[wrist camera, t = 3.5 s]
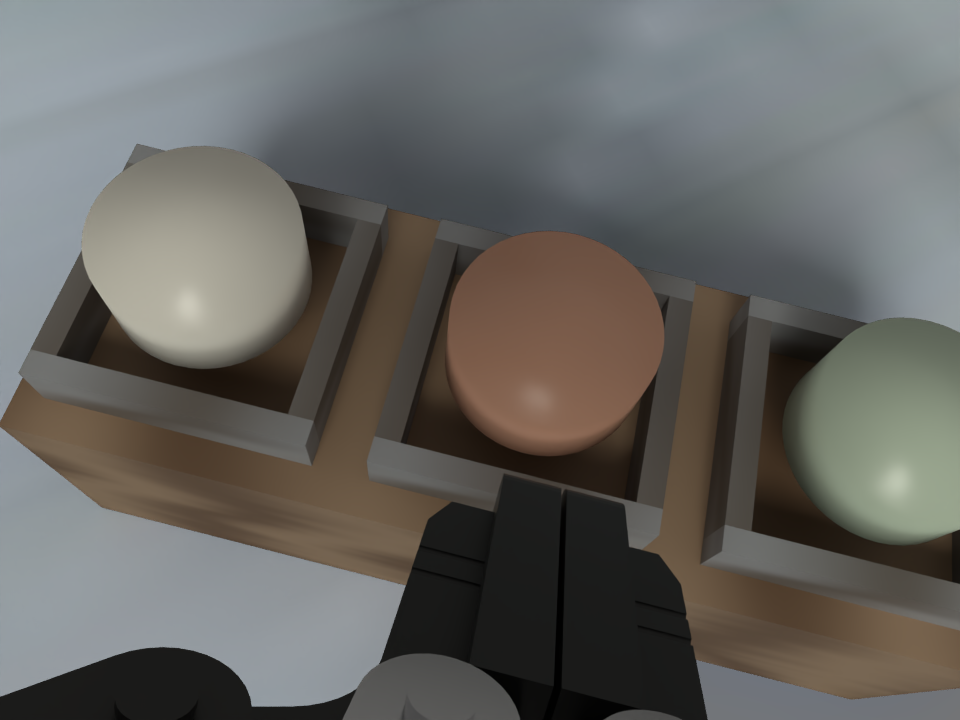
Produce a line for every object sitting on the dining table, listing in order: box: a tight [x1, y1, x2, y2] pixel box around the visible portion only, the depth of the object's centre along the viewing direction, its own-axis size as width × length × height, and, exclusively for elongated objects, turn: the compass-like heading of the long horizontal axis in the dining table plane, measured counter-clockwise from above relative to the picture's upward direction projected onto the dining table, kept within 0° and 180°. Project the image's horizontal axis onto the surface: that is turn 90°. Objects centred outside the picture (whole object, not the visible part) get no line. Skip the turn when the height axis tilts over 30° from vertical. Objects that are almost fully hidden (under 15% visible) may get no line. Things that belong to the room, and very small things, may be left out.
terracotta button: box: [445, 231, 664, 456], centre depth 19 cm, size 5×5×2 cm
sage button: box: [782, 318, 960, 546], centre depth 19 cm, size 5×5×2 cm
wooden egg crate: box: [0, 144, 960, 699], centre depth 24 cm, size 24×8×9 cm, turn 77°
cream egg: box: [82, 146, 312, 369], centre depth 19 cm, size 5×5×2 cm
